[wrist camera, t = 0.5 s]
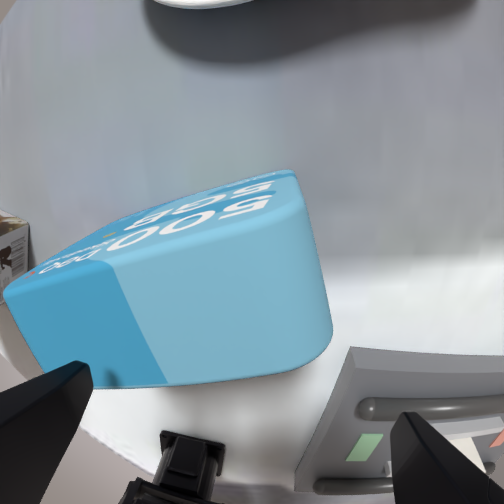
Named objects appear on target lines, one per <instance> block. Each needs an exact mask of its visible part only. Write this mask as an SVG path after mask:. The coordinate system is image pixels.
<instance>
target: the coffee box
mask: <svg viewBox="0 0 504 504" xmlns="http://www.w3.org/2000/svg"><path fill="white" fill-rule="evenodd" d="M28 232H29V224H28V222H26V221H24V220H22V219H20V218H17V217H15V216H13V215H11V214H9V213H6V212H4V211H2V210H0V305H1V304H3V303H4V302H5V299H4V297H3V292H4V289H5V288H6V287H7V286H8V285H9V284H10V283H12V282H13V281H15V280H16V279H18V278H19V277H21V276H22V275H24V274H25V273H27V272H28Z"/></svg>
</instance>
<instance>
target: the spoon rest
mask: <svg viewBox="0 0 504 504" xmlns="http://www.w3.org/2000/svg"><path fill="white" fill-rule="evenodd" d="M154 1H156V2H158V3H161V4H164V5H167V6H171V7H177V8H185V9H210V8H220V7H226V6H232V5H238V4H241V3H245V2H249V1H252V0H154Z"/></svg>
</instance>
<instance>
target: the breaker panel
mask: <svg viewBox="0 0 504 504" xmlns="http://www.w3.org/2000/svg"><path fill="white" fill-rule="evenodd" d="M403 411H416V412H417V413H418V414H419V415H420V416H422V417H423V418H424V419H425V420H426V421H427V422H428V423H429V424H430V425H432V426H433V427H434V428H435V429H436V430H437V431H438V432H439V433H440V434H442V435H443V436H444V437H445V438H446V439H447V440H453V439H461V438H468V437H471V438H472V440H473V443H474V445H475V447H476V449H477V452H478V454H479V456H480V459H481V461H482V463H483V466H484V468H485V470H486V473H485V474H486V475H490V474H492V473H493V472H494V470H495V462H496V461H497V460H498V459H499V458H500V457H501V456H502V454H503V453H504V356H483V355H452V354H433V353H417V352H403V351H391V350H380V349H370V348H360V347H351V346H350V348H349V351H348V354H347V357H346V359H345V362H344V364H343V367H342V370H341V372H340V375H339V377H338V380H337V382H336V385H335V387H334V389H333V392H332V394H331V397H330V399H329V401H328V404H327V406H326V408H325V411H324V413H323V415H322V417H321V420H320V422H319V424H318V426H317V428H316V431H315V433H314V435H313V437H312V439H311V441H310V443H309V445H308V447H307V450H306V452H305V454H304V456H303V458H302V460H301V462H300V464H299V466H298V468H297V469H296V471H295V484H294V491H299V492H315V493H316V494H318V495H364V494H381V493H392V492H394V490H393V482H392V469H391V448H390V431H391V429H392V427H393V425H394V424H395V422H396V420H397V418H398V417H399V415H400V413H401V412H403Z"/></svg>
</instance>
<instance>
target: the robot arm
mask: <svg viewBox="0 0 504 504" xmlns="http://www.w3.org/2000/svg"><path fill="white" fill-rule="evenodd" d="M93 387H94V385H93V379H92V375H91V370H90V366H89V365H88V364H87V363H84V362H81V361H79V360H75V361H72V362H70V363H68V364H66V365H63V366H61V367H59V368H56V369H54V370H52V371H50V372H47V373H45V374H43V375H40V376H38V377H36V378H33V379H31V380H29V381H26V382H24V383H22V384H19V385H17V386H15V387H12V388H10V389H7V390H5V391H3V392H0V504H40V502H41V499H42V497H43V495H44V493H45V491H46V489H47V487H48V485H49V483H50V481H51V479H52V477H53V475H54V473H55V471H56V469H57V467H58V465H59V463H60V461H61V459H62V457H63V455H64V454H65V452H66V450H67V448H68V446H69V444H70V442H71V440H72V438H73V436H74V434H75V433H76V431H77V428H78V426H79V424H80V421H81V419H82V416H83V414H84V411H85V409H86V406H87V404H88V401H89V399H90V397H91V394H92V392H93ZM160 442H161V451H162V458H161V460H160V463H159V466H158V469H157V471H156V474H155V477H154V479H153V482H152V483H150V482H147V481H145V480H143V479H142V478H139V477H137V478H136V480H135V481H130V482H129V484H128V487H127V489H126V492H125V493H124V495H123V497H122V499H121V500H120V502H119V503H118V504H220V503H216V502H212V501H210V500H211V496H212V491H213V486H214V482H215V477H216V476H220V475H221V470H222V464H223V458H224V452H225V445H224V444H221V443H216V442H211V441H206V440H202V439H197V438H193V437H188V436H184V435H180V434H176V433H172V432H168V431H161V433H160ZM390 448H391V469H392V482H393V490H394V496H395V504H504V489H502V488H501V487H500V486H499V485H498V484H496V483H495V482H494V481H493V480H492V479H491V478H489V476H487V475H486V474H485V473H484V472H483V471H482V470H481V469H480V468H478V467H477V466H476V465H475V464H474V463H473V462H472V461H471V460H469V459H468V458H467V457H466V456H465V455H464V454H463V453H462V452H461V451H459V450H458V449H457V448H456V447H455V446H454V445H453V444H452V443H450V442H449V441H448V440H447V439H446V438H445V437H444V436H443V435H442V434H440V433H439V432H438V431H437V430H436V429H435V428H434V427H433V426H432V425H430V424H429V423H428V422H427V421H426V420H425V419H424V418H423V417H422V416H420V415H419V414H418V413H417V412H416V411H403V412H401V413H400V415H399V417H398V418H397V420H396V422H395V424H394V425H393V427H392V429H391V431H390ZM222 504H224V503H222Z"/></svg>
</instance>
